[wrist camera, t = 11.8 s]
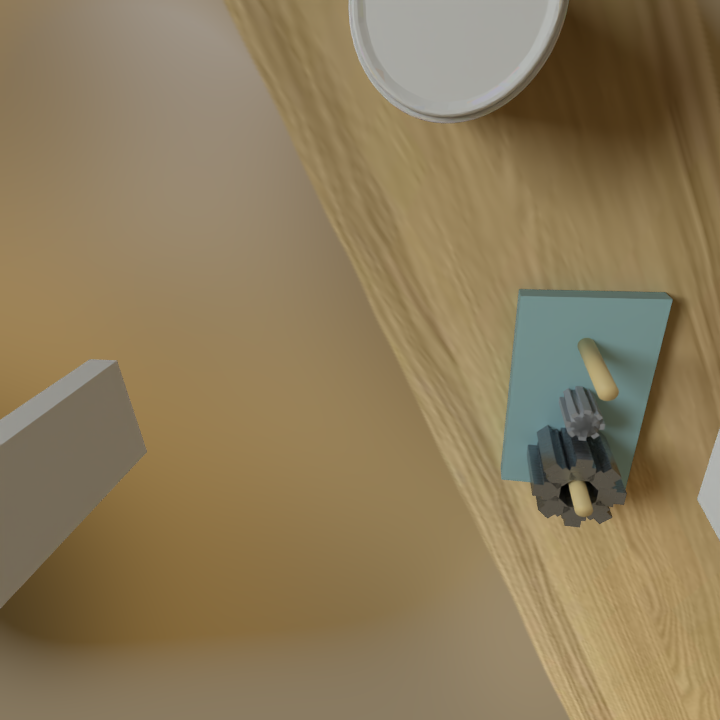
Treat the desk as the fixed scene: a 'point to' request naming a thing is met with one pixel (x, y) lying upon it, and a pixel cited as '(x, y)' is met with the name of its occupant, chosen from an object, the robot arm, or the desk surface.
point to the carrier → (582, 373)
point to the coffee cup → (453, 51)
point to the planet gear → (573, 474)
